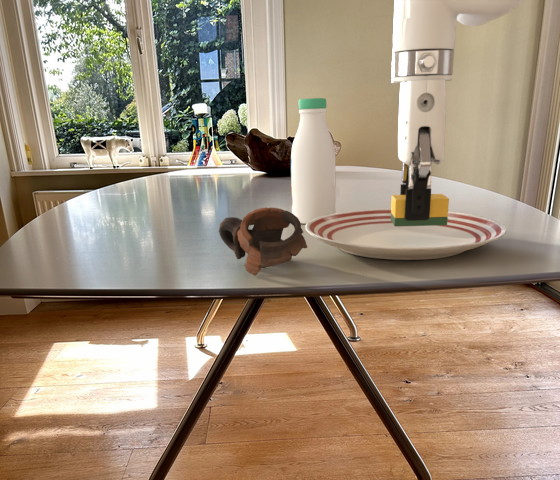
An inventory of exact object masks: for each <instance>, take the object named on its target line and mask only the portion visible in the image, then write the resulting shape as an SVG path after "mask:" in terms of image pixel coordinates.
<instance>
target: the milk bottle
mask: <svg viewBox="0 0 560 480" xmlns="http://www.w3.org/2000/svg"><path fill="white" fill-rule="evenodd" d="M298 109H299V110H298V114H299V115H300V116H299V123H298V128H297V131H296V133H295V136H294V139H293V142H292V146H291V154H290V179H291V180H290V181H291V182H290V183H291V185H290V186H291V213H292V214H294V215H295V216H296V217H297V218H298V219H299V221H300V224H304V225H306V224H307V223H308V222H309V221H311V220H313V219H315V218H318V217H322V216H325V215H330V214H334V213H336V209H337V207H336V205H337V204H336V201H337V200H336V199H337V198H336V193H337V192H336V191H337V190H336V188H337V185H336V176H337V175H336V174H337V173H336V149H335V143H334V141H333V137H332V136H331V132H330V131H329V128H328V125H327V121H326V113H327V99H326V98H325V97H317V98H316V97H313V98H311V97H309V98H300V99H298Z"/></svg>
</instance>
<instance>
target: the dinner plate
mask: <svg viewBox="0 0 560 480" xmlns="http://www.w3.org/2000/svg"><path fill="white" fill-rule="evenodd" d="M304 229H305V231H306V233H308V234H309V235H311V236H312V237H313V238H315V239H316V240H318V241H320V242H322V243H324V244H327V245H329V246H331V247H334V248H337V249H339V250H341V251H343V252H345V253H347V254H350V255H354V256H360V257H364V258H371V259H378V260H391V261H393V260H394V261H419V260H421V261H422V260H435V259H442V258H443V259H444V258H449V257H453V256H457V255H460V254H462V253H464V252H466V251H470V250H474V249H477V248H479V247H482V246H485V245H487V244H490V243H492V242H494V241H498V240H500V239H502V238H503V237H505V235H507V228H506V226H505V225H504V224H502V223H501V222H500V221H497V220H494V219H492V218H488V217H484V216H481V215H476V214H470V213H463V212H457V211H449V210H448V220H447V225H436V226H396V227H395V226H394V225H393V223H392V222H391V207H390V208H388V207H387V208H368V209H367V208H366V209H356V210H348V211H340V212H335V213H334V214H330V215H325V216H322V217H318V218H315V219H313V220H311V221H309V222H308V223H307V224H304Z"/></svg>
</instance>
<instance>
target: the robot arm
mask: <svg viewBox="0 0 560 480" xmlns="http://www.w3.org/2000/svg"><path fill="white" fill-rule="evenodd" d="M523 2H524V0H394V5H393V10H394V11H393V29H392V30H393V33H392V55H391V58H392V59H391V82H390V83H391V84H399V85H400V86H399V100H398V101H399V104H398V123H397V124H398V126H397V157H398V160H399V161H400V162H402V170H401V171H402V173H401V184H400V187H399V188H400V189H399V190H400V191H399V195H406V199H405V219H406V220H408V221H409V220H428V219H429V216H430V201H431V194H432V188H431V187H432V164H434V165H441V164H442V163H443V162H444V161H445V146H446V122H447V121H446V117H447V84H446V82H451V81H453V72H454V62H455V61H454V60H455V59H454V58H455V48H456V46H455V45H456V44H455V43H456V34H457V33H456V32H457V22H458V23H460V24H461V25H464V26H467V27H480V26H483V25H486V24H487V23H490V22H492V21H494V20H497V19H499V18H501V17H503V16H506V15H508V14H509V13H511V12H512V11H514V10H515V9H516V8H518V7H519V6H520V5H521V4H522V3H523Z"/></svg>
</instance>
